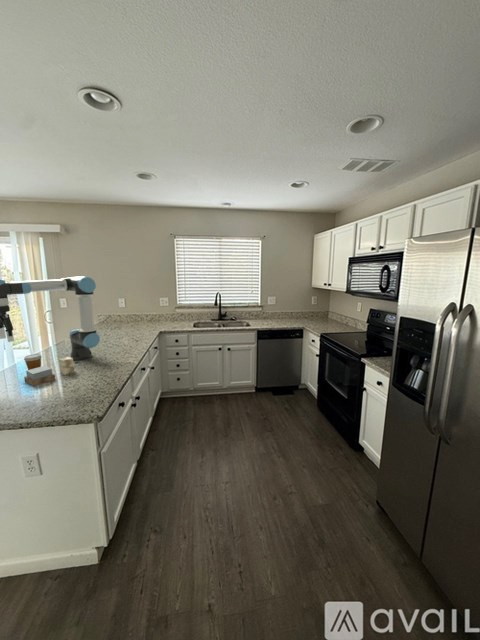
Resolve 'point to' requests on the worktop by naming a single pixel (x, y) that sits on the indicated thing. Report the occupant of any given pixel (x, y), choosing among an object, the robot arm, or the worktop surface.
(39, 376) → the top slab
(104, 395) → the worktop surface
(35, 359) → the disposable coffee cup
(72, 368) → the birch block
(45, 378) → the base slab
